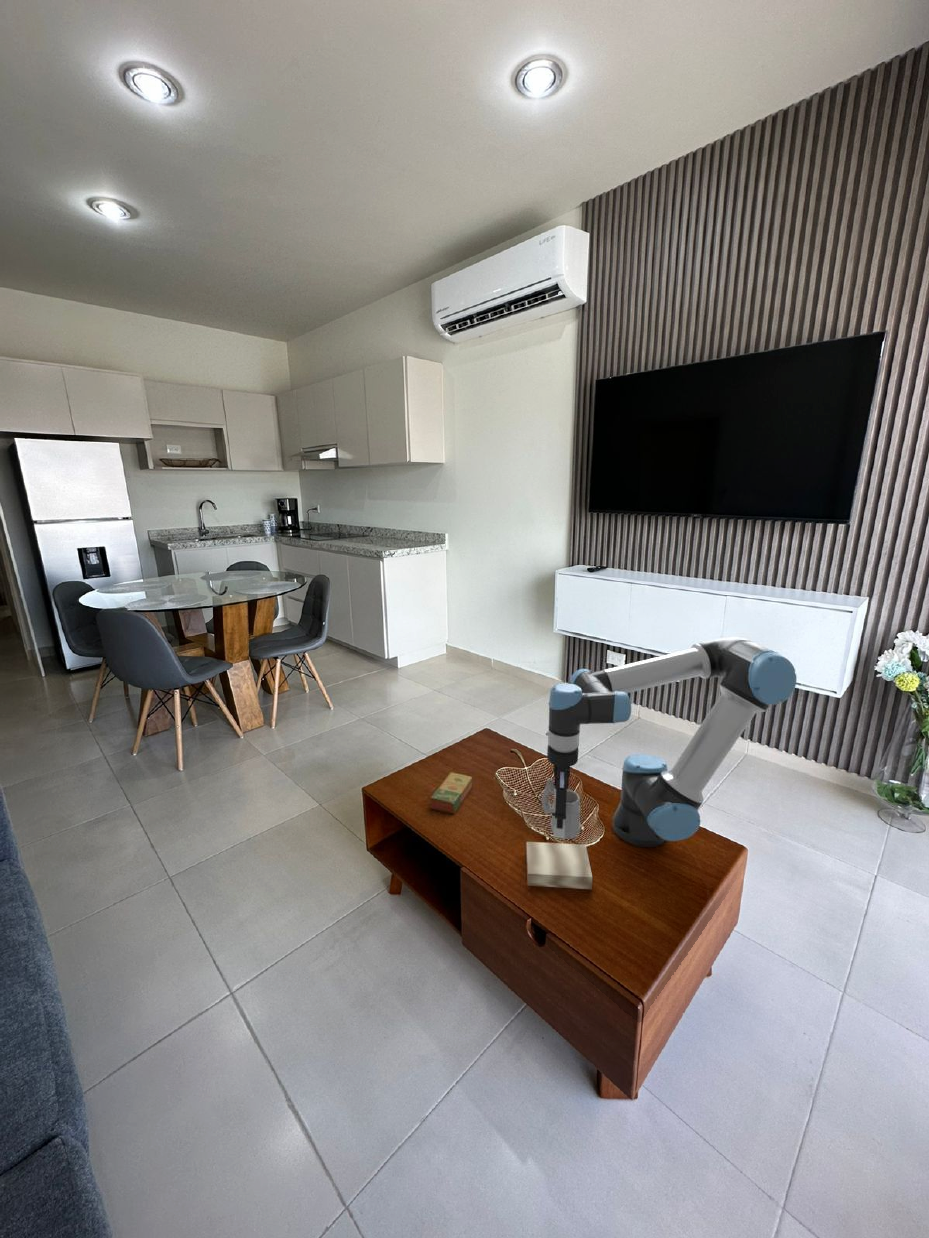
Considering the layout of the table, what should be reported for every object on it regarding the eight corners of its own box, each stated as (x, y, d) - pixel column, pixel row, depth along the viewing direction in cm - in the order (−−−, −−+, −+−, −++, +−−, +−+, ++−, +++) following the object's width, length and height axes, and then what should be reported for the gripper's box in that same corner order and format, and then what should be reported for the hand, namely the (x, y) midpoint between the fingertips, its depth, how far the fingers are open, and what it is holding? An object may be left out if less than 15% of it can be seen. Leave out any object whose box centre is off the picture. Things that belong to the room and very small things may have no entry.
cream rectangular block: (584, 857, 140) (585, 844, 139) (591, 890, 128) (592, 877, 127) (526, 853, 141) (526, 841, 140) (527, 886, 129) (527, 873, 128)
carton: (472, 787, 172) (472, 776, 171) (454, 815, 158) (454, 803, 157) (450, 782, 175) (450, 771, 174) (430, 808, 161) (429, 797, 160)
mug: (567, 844, 125) (569, 802, 122) (532, 820, 134) (533, 780, 131) (586, 831, 130) (589, 790, 127) (551, 809, 139) (553, 770, 136)
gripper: (548, 725, 136) (545, 799, 142) (546, 766, 116) (542, 851, 122) (577, 727, 135) (573, 802, 140) (580, 769, 115) (574, 855, 120)
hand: (559, 825), depth 131 cm, fingers closed on mug, 8 cm apart
